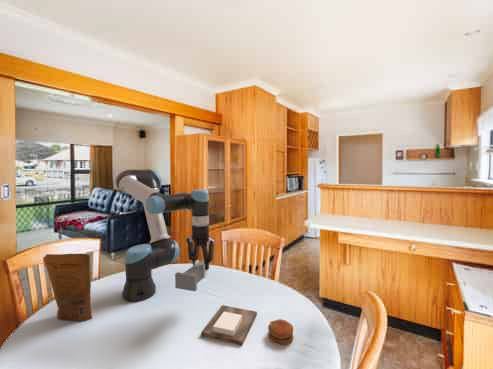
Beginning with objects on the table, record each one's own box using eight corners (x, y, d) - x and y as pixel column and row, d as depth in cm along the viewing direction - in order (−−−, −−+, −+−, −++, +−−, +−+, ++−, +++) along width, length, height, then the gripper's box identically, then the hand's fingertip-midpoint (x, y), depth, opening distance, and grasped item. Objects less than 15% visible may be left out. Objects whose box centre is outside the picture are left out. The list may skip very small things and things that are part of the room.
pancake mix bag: (86, 325, 98) (83, 256, 96) (44, 321, 101) (40, 253, 99) (99, 315, 105) (96, 250, 103) (59, 311, 108) (56, 248, 106)
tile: (223, 316, 102) (213, 331, 92) (223, 311, 102) (213, 326, 92) (242, 319, 99) (233, 336, 90) (242, 315, 99) (233, 330, 90)
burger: (295, 346, 87) (295, 333, 87) (268, 345, 87) (268, 332, 87) (291, 328, 97) (291, 316, 97) (267, 327, 97) (267, 316, 97)
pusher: (175, 288, 101) (175, 273, 100) (194, 273, 115) (194, 260, 115) (195, 291, 98) (194, 276, 98) (212, 275, 113) (212, 262, 112)
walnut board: (201, 335, 92) (201, 332, 92) (222, 308, 110) (222, 305, 110) (242, 345, 87) (242, 341, 87) (256, 315, 105) (256, 311, 105)
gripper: (179, 225, 109) (180, 277, 111) (213, 227, 104) (214, 282, 106) (188, 221, 116) (189, 270, 118) (221, 224, 111) (221, 275, 113)
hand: (201, 275), depth 112 cm, fingers closed on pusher, 3 cm apart
